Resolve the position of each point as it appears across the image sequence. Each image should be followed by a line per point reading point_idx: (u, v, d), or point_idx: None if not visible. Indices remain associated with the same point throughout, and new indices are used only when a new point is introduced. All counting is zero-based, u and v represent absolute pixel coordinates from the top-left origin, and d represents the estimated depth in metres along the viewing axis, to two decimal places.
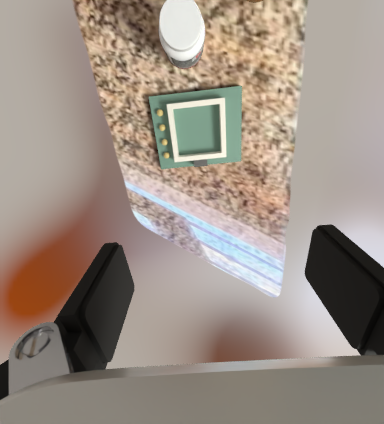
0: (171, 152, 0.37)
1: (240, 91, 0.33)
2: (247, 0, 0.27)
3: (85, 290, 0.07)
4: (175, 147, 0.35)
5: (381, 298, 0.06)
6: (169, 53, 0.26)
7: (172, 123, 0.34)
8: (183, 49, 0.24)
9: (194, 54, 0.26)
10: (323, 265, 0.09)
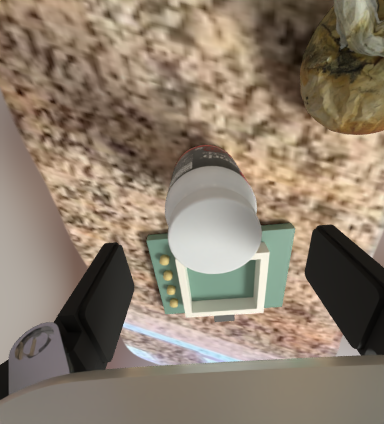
0: (180, 298, 0.25)
1: (292, 234, 0.21)
2: (329, 129, 0.14)
3: (85, 290, 0.07)
4: (187, 303, 0.23)
5: (381, 298, 0.06)
6: None
7: (184, 279, 0.22)
8: None
9: None
10: (323, 265, 0.09)
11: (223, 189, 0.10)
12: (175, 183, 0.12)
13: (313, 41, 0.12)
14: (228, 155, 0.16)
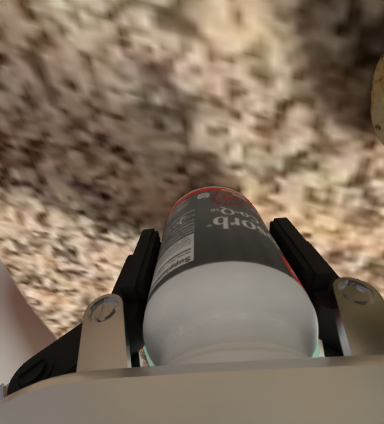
0: None
1: None
2: None
3: (138, 267, 0.08)
4: None
5: (308, 278, 0.07)
6: None
7: None
8: None
9: None
10: None
11: (272, 359, 0.04)
12: (161, 292, 0.06)
13: None
14: (249, 206, 0.10)
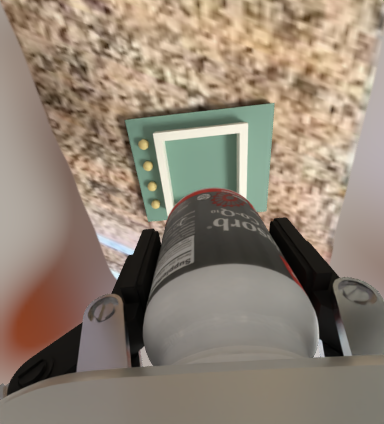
0: (163, 199, 0.25)
1: (272, 112, 0.20)
2: None
3: (138, 267, 0.08)
4: (168, 196, 0.23)
5: (308, 278, 0.07)
6: None
7: (163, 162, 0.21)
8: None
9: None
10: None
11: None
12: (161, 294, 0.06)
13: None
14: (250, 207, 0.10)
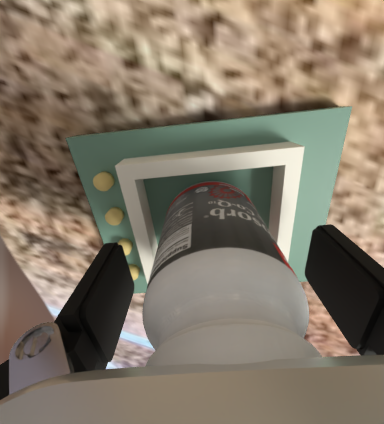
0: None
1: (344, 123, 0.11)
2: None
3: (85, 290, 0.07)
4: (150, 267, 0.13)
5: (381, 298, 0.06)
6: None
7: (138, 215, 0.11)
8: None
9: None
10: (323, 265, 0.09)
11: (261, 332, 0.04)
12: (159, 277, 0.06)
13: None
14: (246, 200, 0.11)
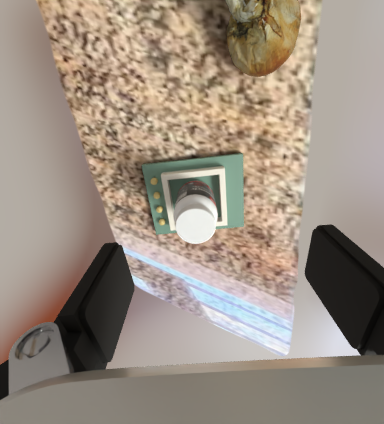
0: (167, 218, 0.34)
1: (241, 159, 0.30)
2: (248, 74, 0.24)
3: (85, 290, 0.07)
4: (171, 216, 0.32)
5: (381, 298, 0.06)
6: None
7: (167, 193, 0.31)
8: (198, 242, 0.25)
9: None
10: (323, 265, 0.09)
11: (198, 205, 0.23)
12: (178, 202, 0.25)
13: (229, 22, 0.22)
14: (206, 186, 0.30)
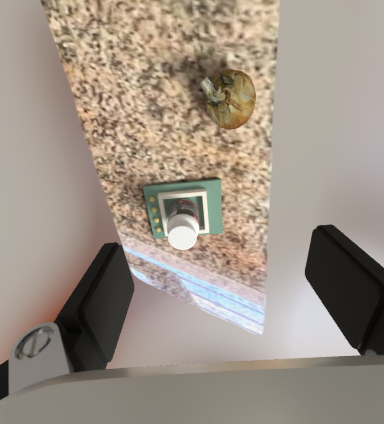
0: (162, 226, 0.44)
1: (219, 183, 0.39)
2: None
3: (85, 290, 0.07)
4: (165, 226, 0.42)
5: (381, 298, 0.06)
6: None
7: (162, 209, 0.40)
8: None
9: None
10: (323, 265, 0.09)
11: (184, 223, 0.33)
12: (170, 219, 0.35)
13: None
14: (192, 204, 0.39)
